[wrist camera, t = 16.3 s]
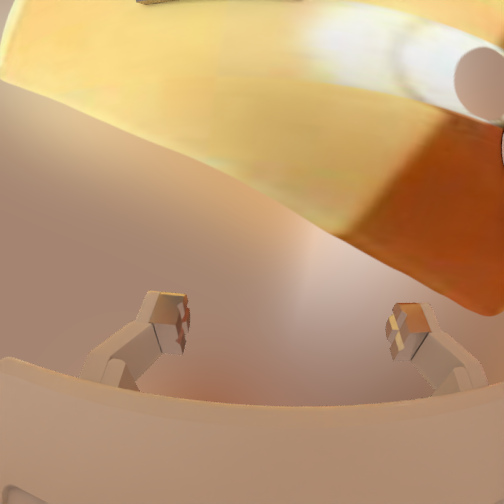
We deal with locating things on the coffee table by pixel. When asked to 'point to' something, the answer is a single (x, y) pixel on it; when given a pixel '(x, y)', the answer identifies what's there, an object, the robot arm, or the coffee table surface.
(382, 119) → the coffee table surface
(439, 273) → the coffee table surface
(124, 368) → the robot arm
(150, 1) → the rosette socket
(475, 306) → the coffee table surface
